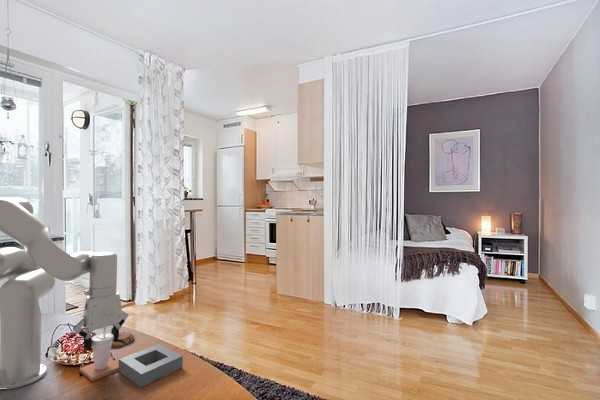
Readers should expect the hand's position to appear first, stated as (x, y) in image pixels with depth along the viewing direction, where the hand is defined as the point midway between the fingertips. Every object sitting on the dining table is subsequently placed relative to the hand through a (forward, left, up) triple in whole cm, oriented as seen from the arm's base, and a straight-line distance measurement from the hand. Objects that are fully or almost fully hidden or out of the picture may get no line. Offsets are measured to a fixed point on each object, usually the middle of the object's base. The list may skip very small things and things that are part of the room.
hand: (101, 344), depth 104 cm
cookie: (+13, +16, -9) cm, 22 cm away
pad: (0, 0, -8) cm, 8 cm away
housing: (+10, -12, -8) cm, 18 cm away
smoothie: (0, 0, -7) cm, 7 cm away
